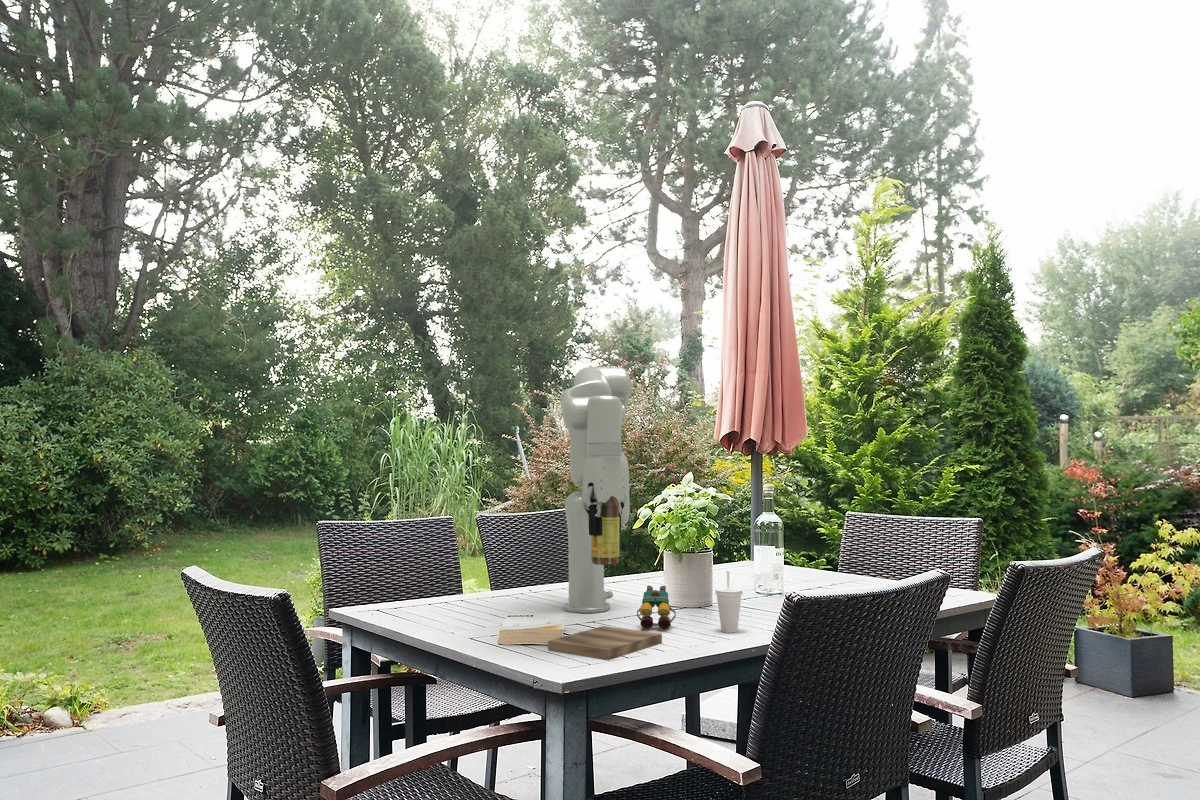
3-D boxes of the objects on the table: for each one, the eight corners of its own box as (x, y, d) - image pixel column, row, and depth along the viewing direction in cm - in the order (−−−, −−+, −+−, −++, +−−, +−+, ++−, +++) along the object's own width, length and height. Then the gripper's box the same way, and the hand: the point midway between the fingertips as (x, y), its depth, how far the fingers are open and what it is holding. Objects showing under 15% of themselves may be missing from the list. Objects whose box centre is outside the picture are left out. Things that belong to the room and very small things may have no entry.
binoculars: (636, 637, 216) (634, 605, 211) (638, 610, 224) (636, 579, 219) (675, 637, 215) (674, 605, 210) (676, 610, 223) (675, 579, 218)
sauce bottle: (591, 562, 200) (591, 472, 201) (619, 562, 200) (619, 472, 201) (590, 565, 193) (590, 472, 195) (619, 565, 193) (619, 472, 195)
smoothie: (713, 632, 210) (712, 572, 210) (719, 627, 216) (718, 568, 216) (740, 634, 207) (739, 573, 208) (745, 629, 213) (744, 569, 214)
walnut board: (603, 634, 208) (603, 625, 209) (661, 642, 199) (661, 633, 199) (548, 650, 192) (548, 640, 193) (608, 659, 183) (608, 649, 183)
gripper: (613, 452, 207) (614, 530, 206) (566, 452, 193) (567, 536, 192) (640, 451, 203) (641, 532, 202) (594, 451, 189) (595, 538, 188)
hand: (605, 533), depth 197 cm, fingers closed on sauce bottle, 6 cm apart
